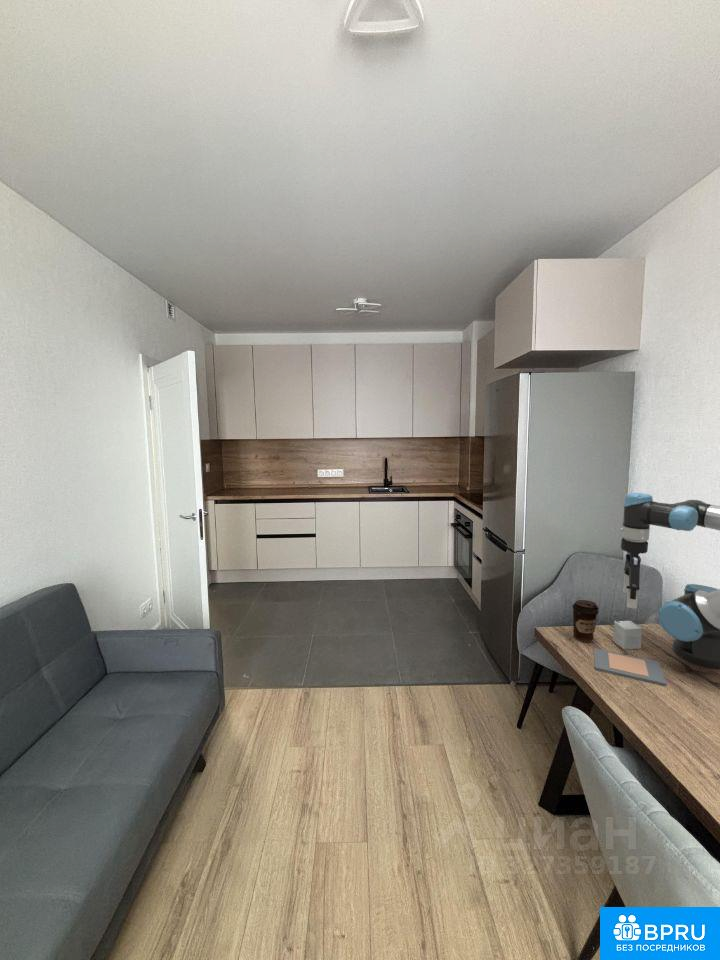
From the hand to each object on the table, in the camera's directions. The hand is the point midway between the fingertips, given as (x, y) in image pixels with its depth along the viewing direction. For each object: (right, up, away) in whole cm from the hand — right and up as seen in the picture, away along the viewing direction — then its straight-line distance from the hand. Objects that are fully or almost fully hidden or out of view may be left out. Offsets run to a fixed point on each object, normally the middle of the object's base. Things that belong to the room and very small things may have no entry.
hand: (629, 600), depth 143 cm
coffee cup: (-12, -15, +6) cm, 21 cm away
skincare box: (0, -16, +2) cm, 16 cm away
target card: (-8, -17, -12) cm, 23 cm away
